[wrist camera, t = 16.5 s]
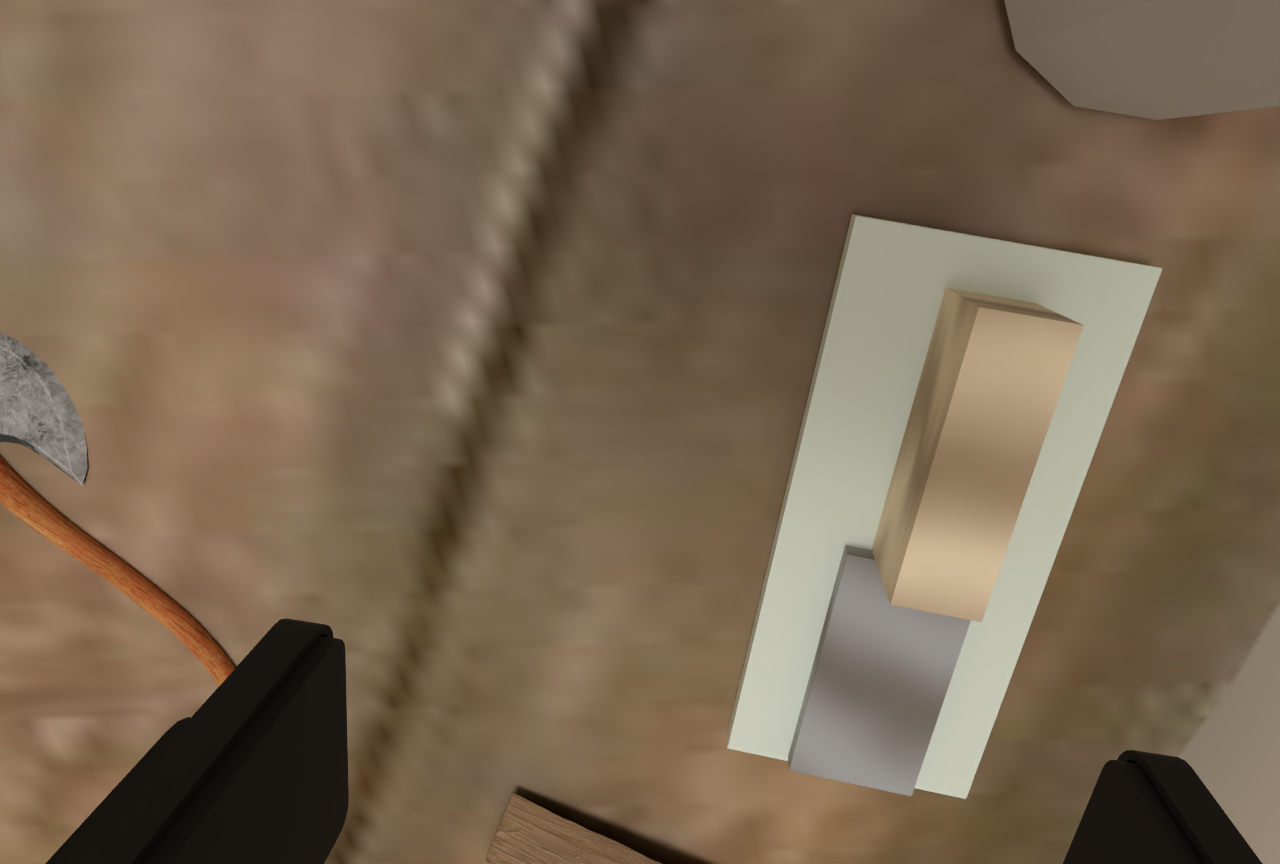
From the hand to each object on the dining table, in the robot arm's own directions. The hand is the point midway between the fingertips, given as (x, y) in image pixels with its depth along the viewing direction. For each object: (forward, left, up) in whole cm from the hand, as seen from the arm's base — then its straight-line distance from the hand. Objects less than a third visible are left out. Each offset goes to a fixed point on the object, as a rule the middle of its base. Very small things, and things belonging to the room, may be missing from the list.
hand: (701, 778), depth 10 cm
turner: (+6, +8, -20) cm, 22 cm away
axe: (+13, -23, -22) cm, 34 cm away
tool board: (+5, +8, -21) cm, 23 cm away
